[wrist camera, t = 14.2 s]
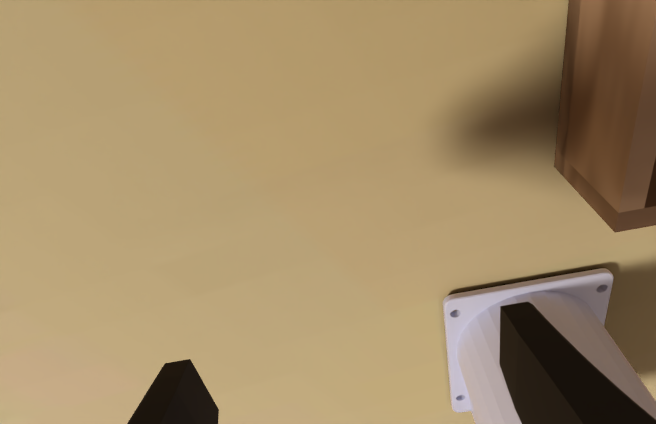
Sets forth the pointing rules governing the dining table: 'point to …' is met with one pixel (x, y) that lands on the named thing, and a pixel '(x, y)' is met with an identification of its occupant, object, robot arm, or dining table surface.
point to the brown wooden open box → (610, 109)
